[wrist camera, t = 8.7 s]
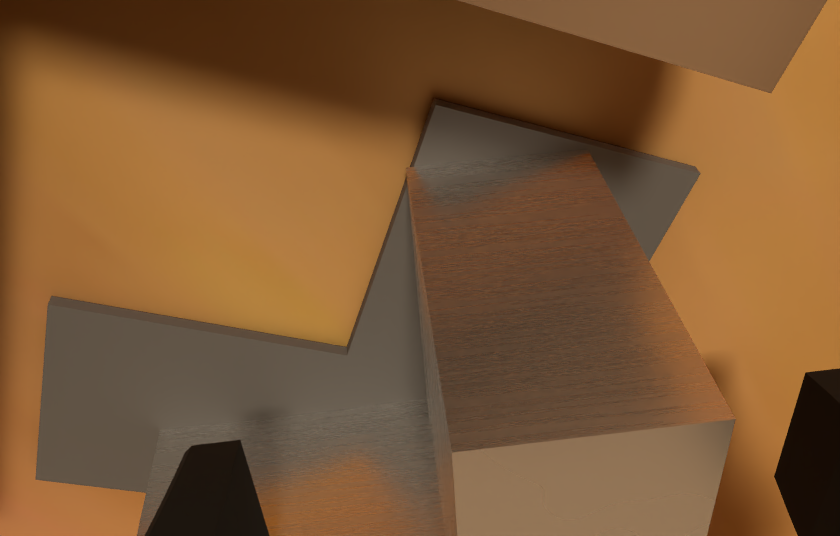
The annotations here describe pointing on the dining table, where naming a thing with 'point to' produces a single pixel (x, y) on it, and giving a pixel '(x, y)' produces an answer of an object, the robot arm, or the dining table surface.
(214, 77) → the dining table surface
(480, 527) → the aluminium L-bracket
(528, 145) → the L-shaped mat
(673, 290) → the dining table surface
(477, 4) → the corner jig
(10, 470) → the dining table surface
